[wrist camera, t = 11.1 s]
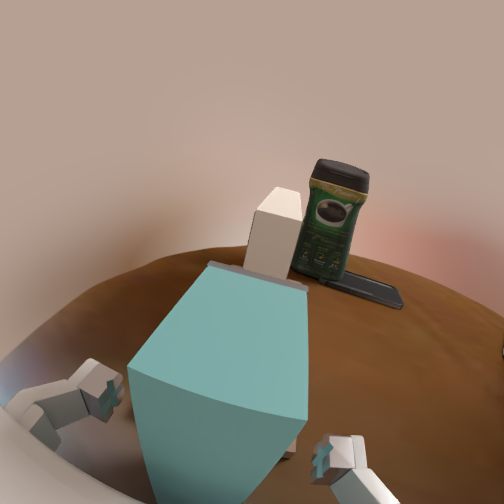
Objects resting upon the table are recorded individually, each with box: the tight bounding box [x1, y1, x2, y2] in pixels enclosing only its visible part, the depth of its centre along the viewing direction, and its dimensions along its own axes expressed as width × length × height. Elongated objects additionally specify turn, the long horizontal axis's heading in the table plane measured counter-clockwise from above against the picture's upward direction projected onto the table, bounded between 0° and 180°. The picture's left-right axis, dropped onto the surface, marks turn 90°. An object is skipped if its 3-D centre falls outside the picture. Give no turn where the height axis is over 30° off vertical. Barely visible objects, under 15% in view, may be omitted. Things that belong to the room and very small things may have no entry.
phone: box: [318, 270, 404, 309], centre depth 43 cm, size 8×1×15 cm
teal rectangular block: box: [127, 260, 308, 504], centre depth 8 cm, size 5×3×12 cm, turn 169°
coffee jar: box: [291, 159, 369, 281], centre depth 42 cm, size 10×8×19 cm
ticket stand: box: [231, 187, 302, 458], centre depth 24 cm, size 26×10×13 cm, turn 169°
